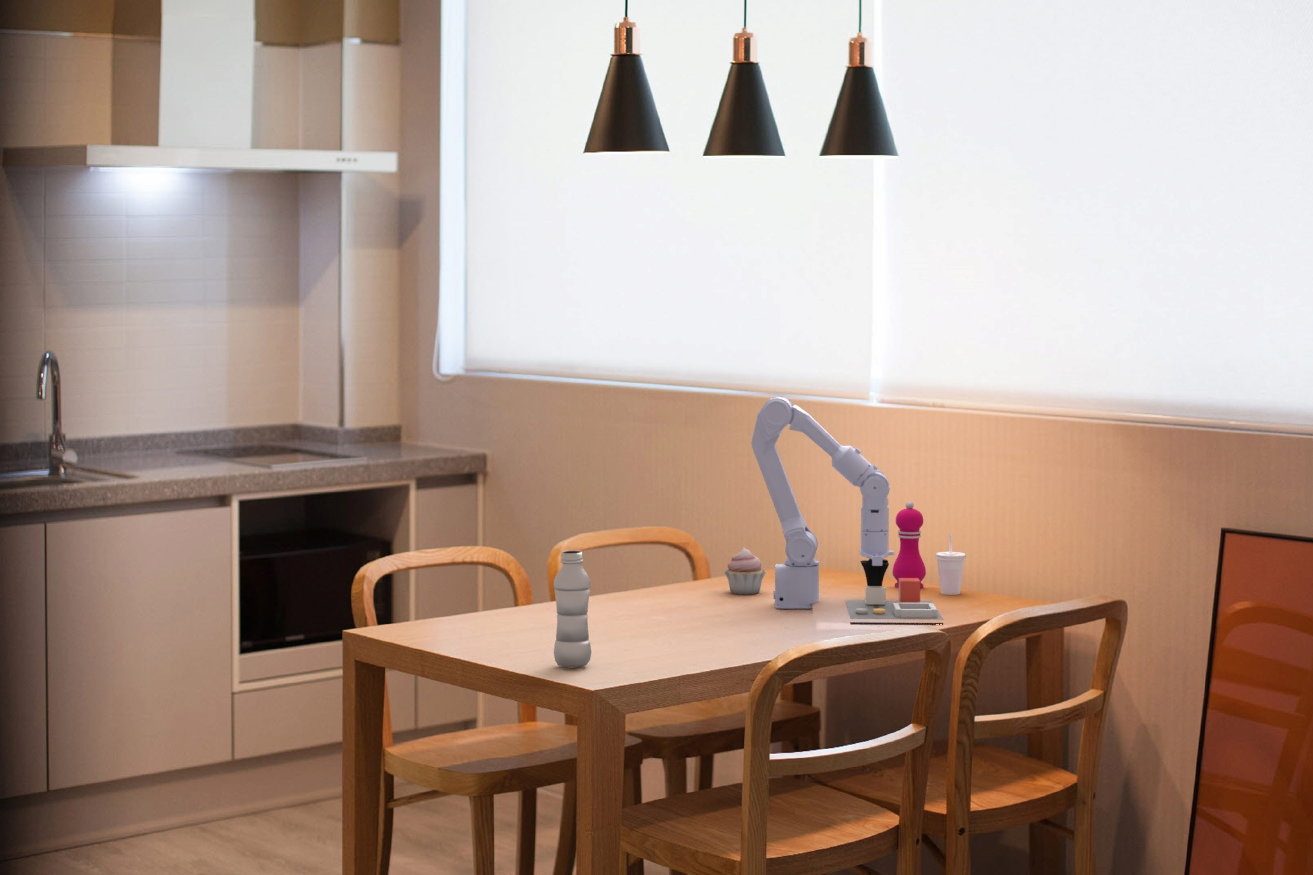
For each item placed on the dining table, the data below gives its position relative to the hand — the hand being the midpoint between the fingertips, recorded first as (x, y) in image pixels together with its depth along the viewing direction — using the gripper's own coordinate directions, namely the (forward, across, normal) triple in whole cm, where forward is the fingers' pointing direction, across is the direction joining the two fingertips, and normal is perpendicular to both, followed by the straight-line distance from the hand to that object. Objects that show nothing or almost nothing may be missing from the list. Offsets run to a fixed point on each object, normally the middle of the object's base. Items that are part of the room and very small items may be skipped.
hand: (874, 595), depth 319 cm
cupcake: (+3, +17, +27) cm, 32 cm away
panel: (+3, -8, -3) cm, 9 cm away
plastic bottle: (+3, -58, +56) cm, 81 cm away
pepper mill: (+3, +19, -9) cm, 21 cm away
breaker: (+1, -3, 0) cm, 3 cm away
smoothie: (+3, +11, -17) cm, 20 cm away
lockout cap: (+1, -2, -7) cm, 7 cm away
